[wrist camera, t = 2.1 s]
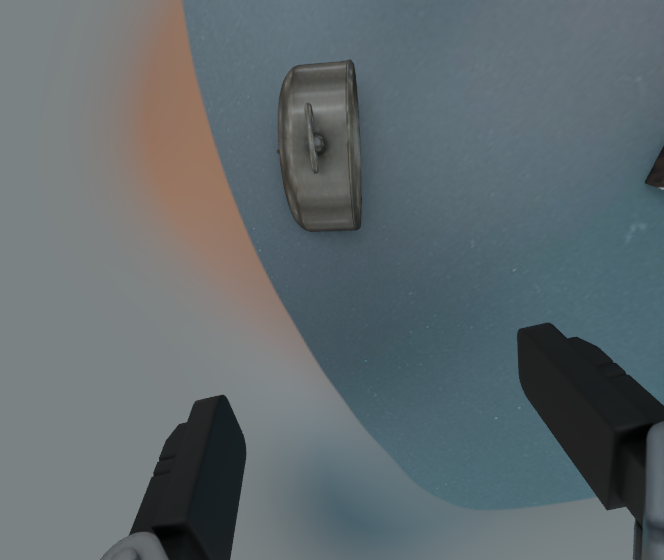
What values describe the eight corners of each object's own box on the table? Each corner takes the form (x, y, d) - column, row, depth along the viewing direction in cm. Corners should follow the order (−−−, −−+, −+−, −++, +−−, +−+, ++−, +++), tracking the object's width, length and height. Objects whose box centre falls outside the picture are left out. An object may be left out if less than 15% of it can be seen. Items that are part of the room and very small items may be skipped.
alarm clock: (362, 222, 36) (370, 247, 20) (300, 225, 36) (260, 252, 20) (357, 87, 34) (363, -5, 18) (291, 91, 34) (239, 4, 18)
